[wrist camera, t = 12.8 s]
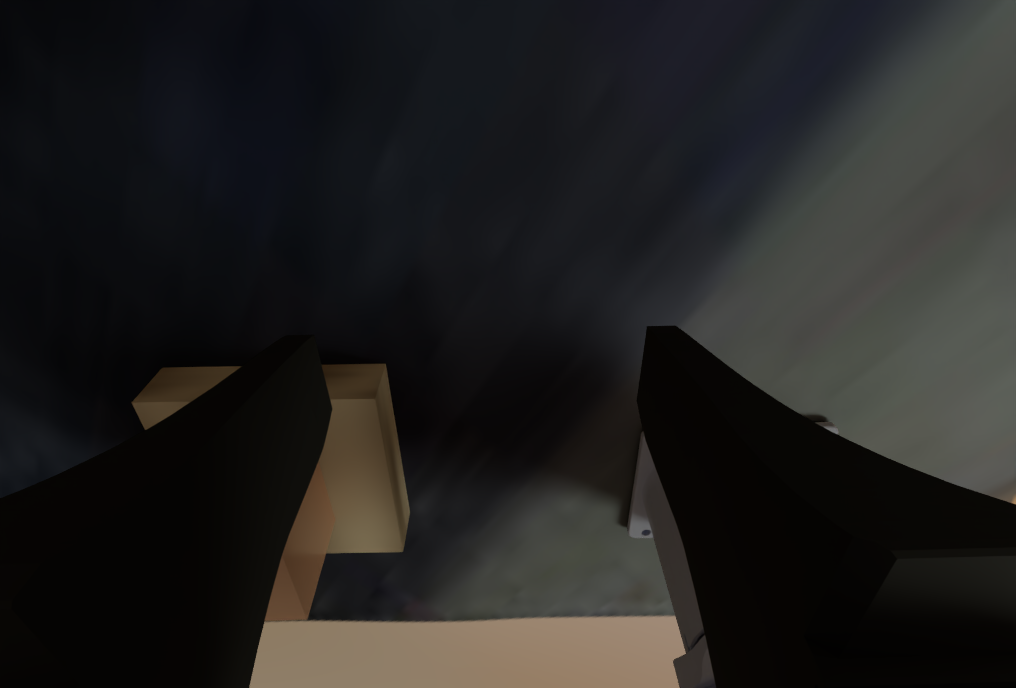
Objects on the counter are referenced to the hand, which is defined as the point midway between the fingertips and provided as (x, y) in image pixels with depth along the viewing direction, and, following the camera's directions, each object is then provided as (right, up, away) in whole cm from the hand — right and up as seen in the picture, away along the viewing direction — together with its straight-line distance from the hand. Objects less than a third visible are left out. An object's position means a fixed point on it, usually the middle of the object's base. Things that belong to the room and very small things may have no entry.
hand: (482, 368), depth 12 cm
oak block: (-10, -4, +16) cm, 19 cm away
